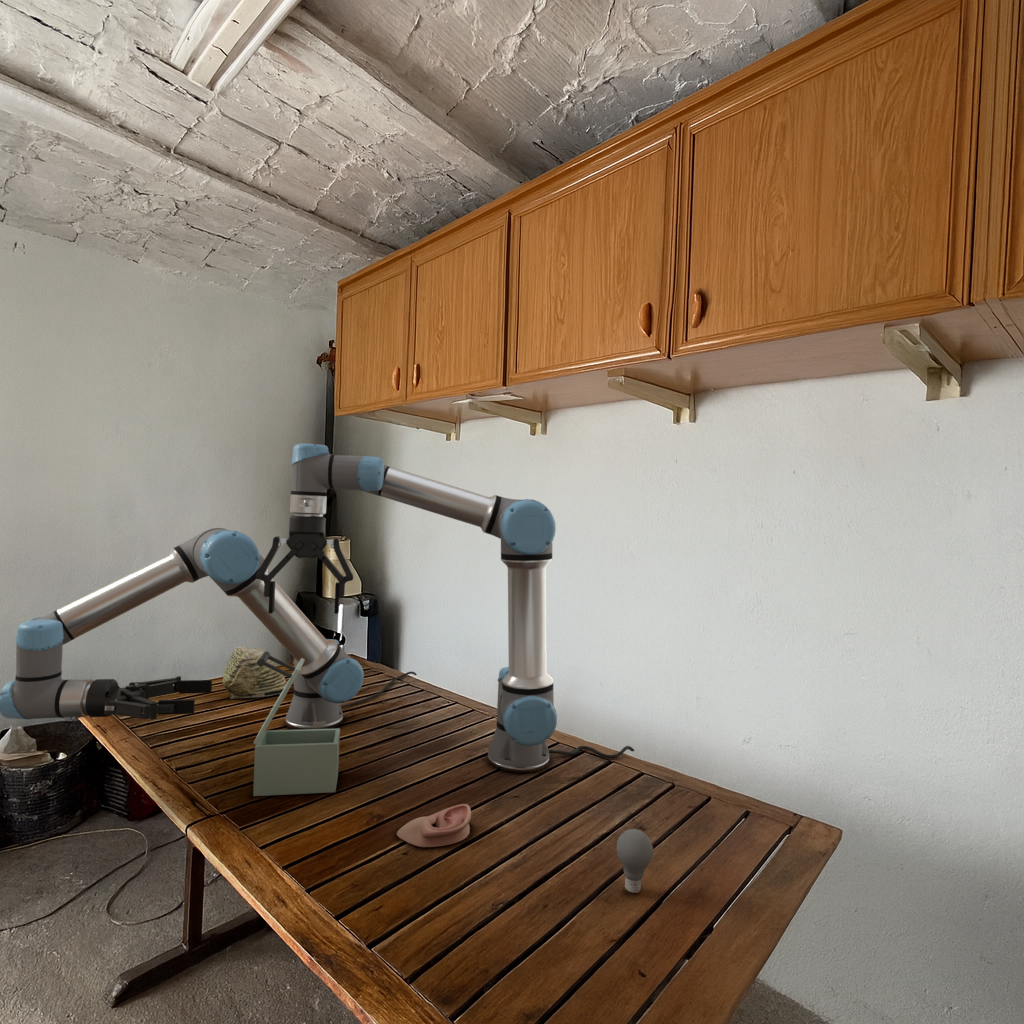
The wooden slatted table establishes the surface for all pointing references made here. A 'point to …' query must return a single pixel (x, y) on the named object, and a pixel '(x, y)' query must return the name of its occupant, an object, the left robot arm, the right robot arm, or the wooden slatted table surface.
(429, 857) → the wooden slatted table surface
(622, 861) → the light bulb
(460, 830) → the anatomical model
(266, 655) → the lid
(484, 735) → the wooden slatted table surface
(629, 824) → the wooden slatted table surface
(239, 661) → the fossil
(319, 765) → the chest
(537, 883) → the wooden slatted table surface
